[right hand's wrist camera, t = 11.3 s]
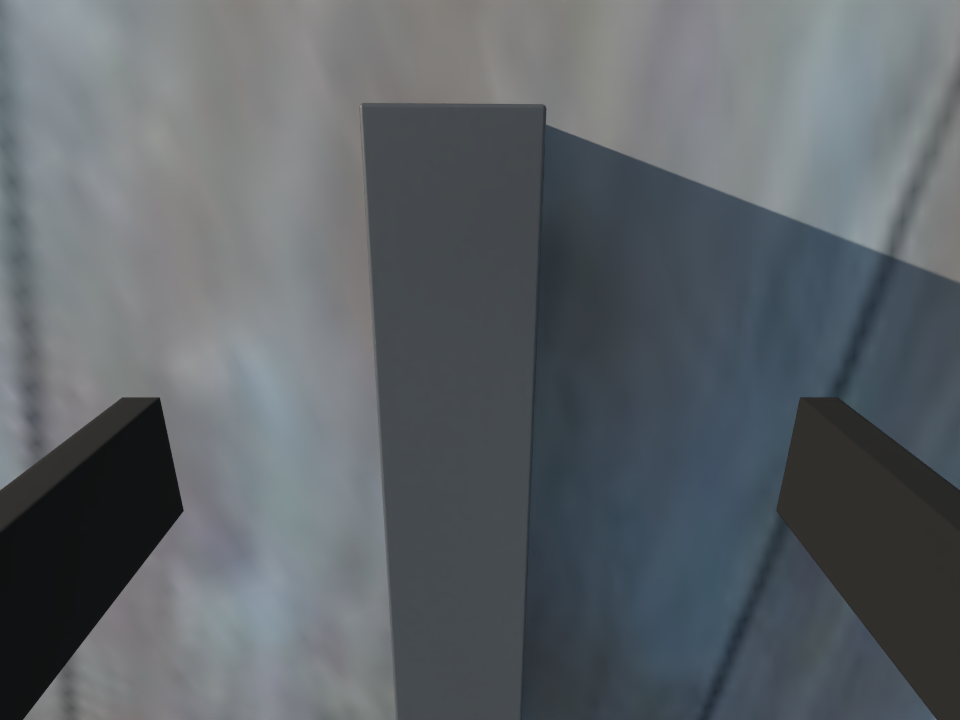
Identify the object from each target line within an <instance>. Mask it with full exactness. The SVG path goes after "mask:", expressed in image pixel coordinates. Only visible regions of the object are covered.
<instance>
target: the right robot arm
mask: <svg viewBox="0 0 960 720" xmlns="http://www.w3.org/2000/svg"><path fill="white" fill-rule="evenodd" d="M183 511H184V510H183V506H182V501H181V496H180V491H179V487H178V482H177V477H176V472H175V468H174V463H173V458H172V453H171V449H170V444H169V439H168V434H167V430H166V425H165V420H164V415H163V411H162V406H161V401H160V398H121V399H120V400H118V401H117V402H116V403H115V404H113V405H112V406H111V407H109V408H108V409H107V410H105V411H104V412H103V413H101V414H100V415H99V416H97V417H96V418H95V419H94V420H92V421H91V422H90V423H88V424H87V425H86V426H84V427H83V428H82V429H80V430H79V431H78V432H76V433H75V434H74V435H72V436H71V437H70V438H69V439H67V440H66V441H65V442H63V443H62V444H61V445H59V446H58V447H57V448H55V449H54V450H53V451H51V452H50V453H49V454H48V455H46V456H45V457H44V458H42V459H41V460H40V461H38V462H37V463H36V464H34V465H33V466H32V467H30V468H29V469H28V470H26V471H25V472H24V473H23V474H21V475H20V476H19V477H17V478H16V479H15V480H13V481H12V482H11V483H9V484H8V485H7V486H5V487H4V488H3V489H2V490H0V720H23V719H24V718H25V716H26V715H27V714H28V713H29V711H30V710H31V709H32V707H33V706H34V705H35V703H36V702H37V701H38V700H39V698H40V697H41V696H42V694H43V693H44V692H45V690H46V689H47V688H48V687H49V685H50V684H51V683H52V681H53V680H54V679H55V677H56V676H57V675H58V674H59V672H60V671H61V670H62V668H63V667H64V666H65V664H66V663H67V662H68V661H69V659H70V658H71V657H72V655H73V654H74V653H75V651H76V650H77V649H78V648H79V646H80V645H81V644H82V642H83V641H84V640H85V638H86V637H87V636H88V635H89V633H90V632H91V631H92V629H93V628H94V627H95V625H96V624H97V623H98V622H99V620H100V619H101V618H102V616H103V615H104V614H105V612H106V611H107V610H108V609H109V607H110V606H111V605H112V603H113V602H114V601H115V599H116V598H117V597H118V596H119V594H120V593H121V592H122V590H123V589H124V588H125V586H126V585H127V584H128V583H129V581H130V580H131V579H132V577H133V576H134V575H135V573H136V572H137V571H138V569H139V568H140V567H141V566H142V564H143V563H144V562H145V560H146V559H147V558H148V556H149V555H150V554H151V553H152V551H153V550H154V549H155V547H156V546H157V545H158V543H159V542H160V541H161V540H162V538H163V537H164V536H165V534H166V533H167V532H168V530H169V529H170V528H171V527H172V525H173V524H174V523H175V521H176V520H177V519H178V517H179V516H180V515H181V514H182V512H183ZM776 511H777V512H778V514H779V515H780V516H781V517H782V519H783V520H784V521H785V523H786V524H787V525H788V527H789V528H790V529H791V530H792V532H793V533H794V534H795V536H796V537H797V538H798V540H799V541H800V542H801V543H802V545H803V546H804V547H805V549H806V550H807V551H808V553H809V554H810V555H811V556H812V558H813V559H814V560H815V562H816V563H817V564H818V566H819V567H820V568H821V569H822V571H823V572H824V573H825V575H826V576H827V577H828V579H829V580H830V581H831V582H832V584H833V585H834V586H835V588H836V589H837V590H838V592H839V593H840V594H841V596H842V597H843V598H844V599H845V601H846V602H847V603H848V605H849V606H850V607H851V609H852V610H853V611H854V612H855V614H856V615H857V616H858V618H859V619H860V620H861V622H862V623H863V624H864V625H865V627H866V628H867V629H868V631H869V632H870V633H871V635H872V636H873V637H874V638H875V640H876V641H877V642H878V644H879V645H880V646H881V648H882V649H883V650H884V651H885V653H886V654H887V655H888V657H889V658H890V659H891V661H892V662H893V663H894V664H895V666H896V667H897V668H898V670H899V671H900V672H901V674H902V675H903V676H904V677H905V679H906V680H907V681H908V683H909V684H910V685H911V687H912V688H913V689H914V690H915V692H916V693H917V694H918V696H919V697H920V698H921V700H922V701H923V702H924V703H925V705H926V706H927V707H928V709H929V710H930V711H931V713H932V714H933V715H934V716H935V718H936V719H937V720H960V490H958V489H957V488H956V487H955V486H953V485H952V484H951V483H949V482H948V481H947V480H945V479H944V478H943V477H941V476H940V475H939V474H937V473H936V472H935V471H934V470H932V469H931V468H930V467H928V466H927V465H926V464H924V463H923V462H922V461H920V460H919V459H918V458H916V457H915V456H914V455H912V454H911V453H910V452H909V451H907V450H906V449H905V448H903V447H902V446H901V445H899V444H898V443H897V442H895V441H894V440H893V439H891V438H890V437H889V436H888V435H886V434H885V433H884V432H882V431H881V430H880V429H878V428H877V427H876V426H874V425H873V424H872V423H870V422H869V421H868V420H866V419H865V418H864V417H863V416H861V415H860V414H859V413H857V412H856V411H855V410H853V409H852V408H851V407H849V406H848V405H847V404H845V403H844V402H843V401H842V400H840V399H839V398H800V401H799V406H798V411H797V415H796V420H795V425H794V430H793V434H792V439H791V444H790V449H789V453H788V458H787V463H786V468H785V472H784V477H783V482H782V487H781V491H780V496H779V501H778V506H777V510H776Z"/></svg>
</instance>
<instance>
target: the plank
mask: <svg viewBox="0 0 960 720" xmlns="http://www.w3.org/2000/svg"><path fill="white" fill-rule="evenodd" d="M359 110H360V126H361V143H362V160H363V176H364V193H365V210H366V226H367V243H368V260H369V276H370V293H371V310H372V326H373V343H374V360H375V376H376V393H377V410H378V426H379V443H380V460H381V476H382V493H383V510H384V526H385V543H386V560H387V576H388V593H389V610H390V626H391V643H392V660H393V676H394V693H395V710H396V720H521V719H522V694H523V669H524V645H525V620H526V596H527V571H528V546H529V522H530V497H531V472H532V448H533V423H534V399H535V374H536V349H537V325H538V300H539V276H540V251H541V226H542V202H543V177H544V152H545V128H546V107H545V105H543V104H414V103H362V104H360V107H359Z"/></svg>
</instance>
